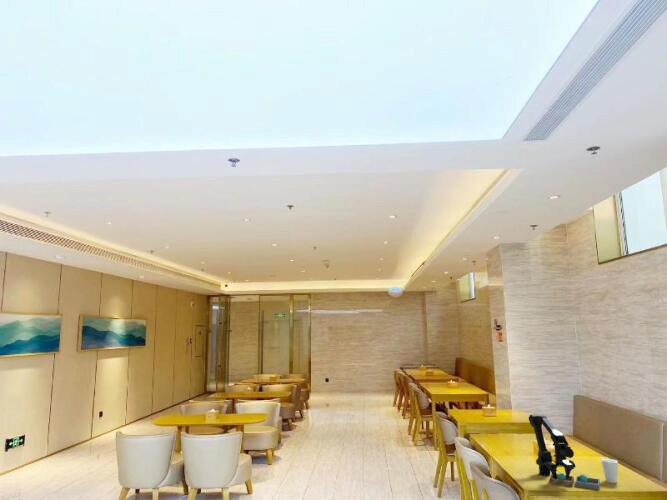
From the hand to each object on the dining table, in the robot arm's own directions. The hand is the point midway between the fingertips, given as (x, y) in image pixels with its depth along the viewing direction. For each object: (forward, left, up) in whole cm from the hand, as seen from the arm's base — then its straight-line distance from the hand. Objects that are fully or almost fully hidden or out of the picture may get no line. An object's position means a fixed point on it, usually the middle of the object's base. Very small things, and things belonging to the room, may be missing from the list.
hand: (561, 479), depth 305 cm
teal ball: (0, 0, +1) cm, 1 cm away
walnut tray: (0, 0, -2) cm, 2 cm away
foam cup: (+28, +19, -2) cm, 34 cm away
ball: (+12, +5, +1) cm, 13 cm away
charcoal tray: (+15, +2, -2) cm, 15 cm away
